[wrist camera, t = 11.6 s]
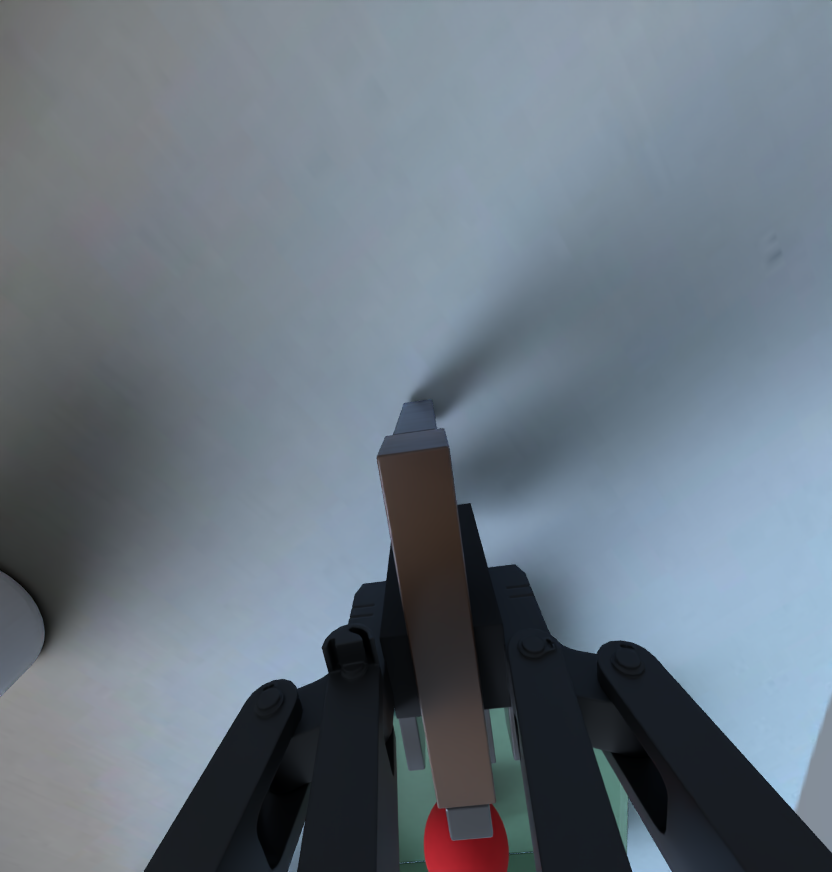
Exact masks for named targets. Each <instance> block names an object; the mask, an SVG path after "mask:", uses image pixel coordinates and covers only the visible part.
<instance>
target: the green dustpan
mask: <svg viewBox="0 0 832 872" xmlns="http://www.w3.org/2000/svg"><path fill="white" fill-rule="evenodd" d="M489 711H490V718H491V726H492V734H493V742H494V749H495V757H496V763H492V772H493V779H494V787H495V794H496V803H494V804H492V805H493V806H494V807H495V809H496V810H497V812H498V813H499V815H500V817H501V819H502V821H503V824H504V827H505V830H506V834H507V839H508V846H509V862H508V869H507V872H536V866H535V859H534V853H533V846H532V839H531V832H530V826H529V819H528V812H527V805H526V799H525V792H524V785H523V778H522V771H521V765H520V760H517V761H516V760H514V757H513V753H512V748H511V744H510V739H509V735H508V730H507V726H506V721H505V712H504V708H496V709H489ZM393 727H394V731H395V736H396V752H397V790H398V828H399V863H401V864H399V866H400V872H428V869H427V865H426V861H425V855H424V832H425V827H426V822H427V819H428V816H429V814H430V812H431V810H432V808H433V806H434V805H435V803H436V802H437V801H436V795H435V790H434V784H433V778H432V772H431V767H430V761H429V755H428V750H427V744H426V738H425V769H424V770H415V771H409V770H408V766H407V761H406V756H405V751H404V745H403V740H402V735H401V730H400V724H399V719H397V718H396V713H395V711H394V718H393ZM593 750H594V753H595V756H596V759H597V763H598V766H599V769H600V772H601V775H602V778H603V781H604V785H605V788H606V791H607V794H608V797H609V800H610V803H611V807H612V810H613V813H614V816H615V819H616V822H617V825H618V829H619V832H620V835H621V838H622V841H623V844H624V847H625V851H626V854H627V824H628V795H627V794H626V792H625V790H624V788H623V787H622V785H621V783H620V781H619V780H618V778H617V776H616V775H615V773H614V771H613V769H612V768H611V766H610V764H609V763H608V761H607V759H606V757H605V756H604V754H603V752H602V750H600V749H596V748H593ZM522 852H531V853H522ZM510 853H520V854H510ZM415 861H425V862H415ZM403 862H413V863H403Z"/></svg>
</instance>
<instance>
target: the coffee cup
mask: <svg viewBox="0 0 832 872" xmlns="http://www.w3.org/2000/svg"><path fill="white" fill-rule="evenodd" d="M44 637H45V630H44V623H43V618H42V616H41V614H40V611H39V609H38V606H37V605H36V603H35V602H34V600H33V599H32V597H31V596H30V595H29V594H28V593H27V592H26V590H25V589H24V588H23V587H22V586H21V585H20V584H18V583H17V582H16V581H15V580H14V579H12V578H11V577H10V576H8V575H7V574H5V573H3V572H2V571H0V697H1V696H2V695H3V694H4V693H5V692H6V691H7V690H8V689H9V688H10V687H11V686H12V685H13V684H14V682H15V681H16V680H17V679H18V678H19V677H20V676H21V675H22V674H23V673H24V672H25V671H26V670H27V669H28V668H29V667H30V666H31V665H32V664H33V663H34V661H35V660H36V658H37V657H38V655H39V654H40V651H41V649H42V646H43V643H44Z"/></svg>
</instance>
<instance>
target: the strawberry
mask: <svg viewBox="0 0 832 872" xmlns="http://www.w3.org/2000/svg"><path fill="white" fill-rule="evenodd" d="M489 805H490V813H491V820H492V827H493V836H492V837H489V838H478V839H466V840H455V841H453V840H451V838H450V833H449V827H448V821H447V815H446V809H445V808H441V809H440V808H438V806H437V802H436V803H435V805H434V806H433V808H432V810H431V812H430V814H429V816H428V819H427V822H426V827H425V832H424V855H425V861H426V865H427V869H428V872H507V869H508V862H509V846H508V839H507V834H506V830H505V827H504V824H503V821H502V819H501V817H500V815H499V813H498V812H497V810H496V809H495V807H494V806H493V805H492V804H489Z"/></svg>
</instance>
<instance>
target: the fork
mask: <svg viewBox="0 0 832 872" xmlns="http://www.w3.org/2000/svg"><path fill="white" fill-rule="evenodd" d="M377 464H378V469H379V475H380V481H381V486H382V492H383V498H384V504H385V509H386V515H387V521H388V526H389V532H390V538H391V544H392V549H393V555H394V561H395V566H396V572H397V578H398V584H399V589H400V595H401V601H402V607H403V612H404V618H405V624H406V629H407V635H408V641H409V647H410V652H411V658H412V664H413V669H414V675H415V681H416V687H417V692H418V698H419V704H420V710H421V715H422V716H420V717H410V718H401V719H399V724H400V730H401V735H402V740H403V745H404V751H405V756H406V761H407V766H408V770H409V771H415V770H424V769H425V738H426V744H427V750H428V755H429V761H430V767H431V772H432V778H433V784H434V790H435V795H436V801H437V806H438V808H440V809H441V808H445V809H446V815H447V821H448V827H449V833H450V838H451V840H453V841H455V840H466V839H478V838H489V837H492V836H493V827H492V820H491V813H490V805H489V804H494V803H496V794H495V787H494V779H493V772H492V763H496V757H495V749H494V742H493V734H492V726H491V718H490V711H489V709H487V710H484V704H483V696H482V689H481V681H480V674H479V666H478V659H477V651H476V644H475V636H474V629H473V621H472V614H471V606H470V598H469V591H468V583H467V576H466V568H465V561H464V553H463V546H462V538H461V531H460V523H459V516H458V508H457V501H456V493H455V486H454V478H453V471H452V463H451V455H450V448H449V444H448V440H447V436H446V432H445V429H443V428H440V429H437V426H436V420H435V414H434V408H433V402H432V400H431V399H429V400H422V401H415V402H408V403H404V404H403V407H402V410H401V413H400V416H399V419H398V422H397V425H396V428H395V431H394V434H393V435H390V436H386V437H385V438H384V441H383V443H382V445H381V448H380V450H379V453H378V455H377ZM511 706H512V703H511ZM504 712H505V721H506V726H507V730H508V735H509V739H510V744H511V748H512V753H513V757H514V760H516V761H517V760H520V758H519V751H518V748H517V743H516V733H515V723H514V713H513V707H506V708H504Z"/></svg>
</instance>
